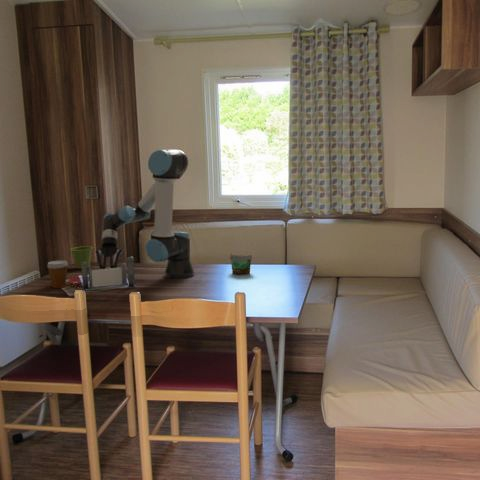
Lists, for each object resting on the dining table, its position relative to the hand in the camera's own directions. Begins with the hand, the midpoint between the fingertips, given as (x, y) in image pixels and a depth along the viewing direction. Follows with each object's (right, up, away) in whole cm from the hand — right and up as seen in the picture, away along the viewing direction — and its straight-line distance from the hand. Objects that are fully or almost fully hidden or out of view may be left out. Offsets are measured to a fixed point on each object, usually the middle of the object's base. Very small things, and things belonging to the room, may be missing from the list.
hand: (107, 280), depth 251 cm
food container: (+64, +2, +20) cm, 67 cm away
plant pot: (-24, +4, +41) cm, 47 cm away
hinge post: (-9, -4, -5) cm, 11 cm away
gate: (+1, -2, -2) cm, 3 cm away
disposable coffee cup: (-24, -3, +1) cm, 24 cm away
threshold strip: (+2, -3, -4) cm, 5 cm away
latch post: (+12, -3, -3) cm, 13 cm away
